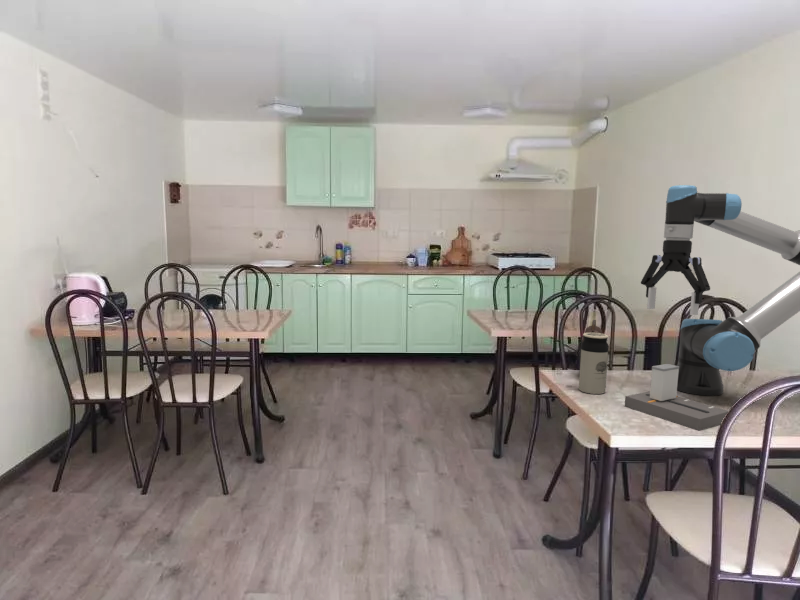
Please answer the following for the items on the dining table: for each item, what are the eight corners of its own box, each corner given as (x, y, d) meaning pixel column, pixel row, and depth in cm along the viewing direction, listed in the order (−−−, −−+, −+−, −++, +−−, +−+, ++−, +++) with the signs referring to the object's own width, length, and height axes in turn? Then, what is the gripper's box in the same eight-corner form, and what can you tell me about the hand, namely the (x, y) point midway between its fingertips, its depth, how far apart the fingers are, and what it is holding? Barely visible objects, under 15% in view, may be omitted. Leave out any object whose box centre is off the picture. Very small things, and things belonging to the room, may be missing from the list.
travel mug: (574, 387, 177) (578, 332, 175) (598, 387, 178) (602, 332, 176) (585, 394, 169) (589, 337, 167) (609, 394, 170) (614, 337, 168)
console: (624, 406, 159) (625, 395, 158) (654, 399, 166) (655, 389, 166) (699, 430, 140) (700, 418, 140) (729, 422, 147) (730, 410, 147)
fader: (649, 397, 156) (651, 366, 155) (664, 394, 159) (667, 363, 158) (660, 401, 153) (663, 369, 152) (676, 397, 156) (679, 366, 155)
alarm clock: (579, 371, 199) (583, 316, 196) (600, 373, 196) (604, 317, 193) (576, 381, 185) (580, 322, 183) (599, 383, 182) (603, 324, 180)
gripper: (632, 238, 169) (626, 306, 172) (713, 240, 148) (705, 318, 151) (647, 238, 173) (642, 305, 176) (728, 240, 152) (721, 317, 155)
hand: (671, 311), depth 163 cm, fingers open, 13 cm apart
